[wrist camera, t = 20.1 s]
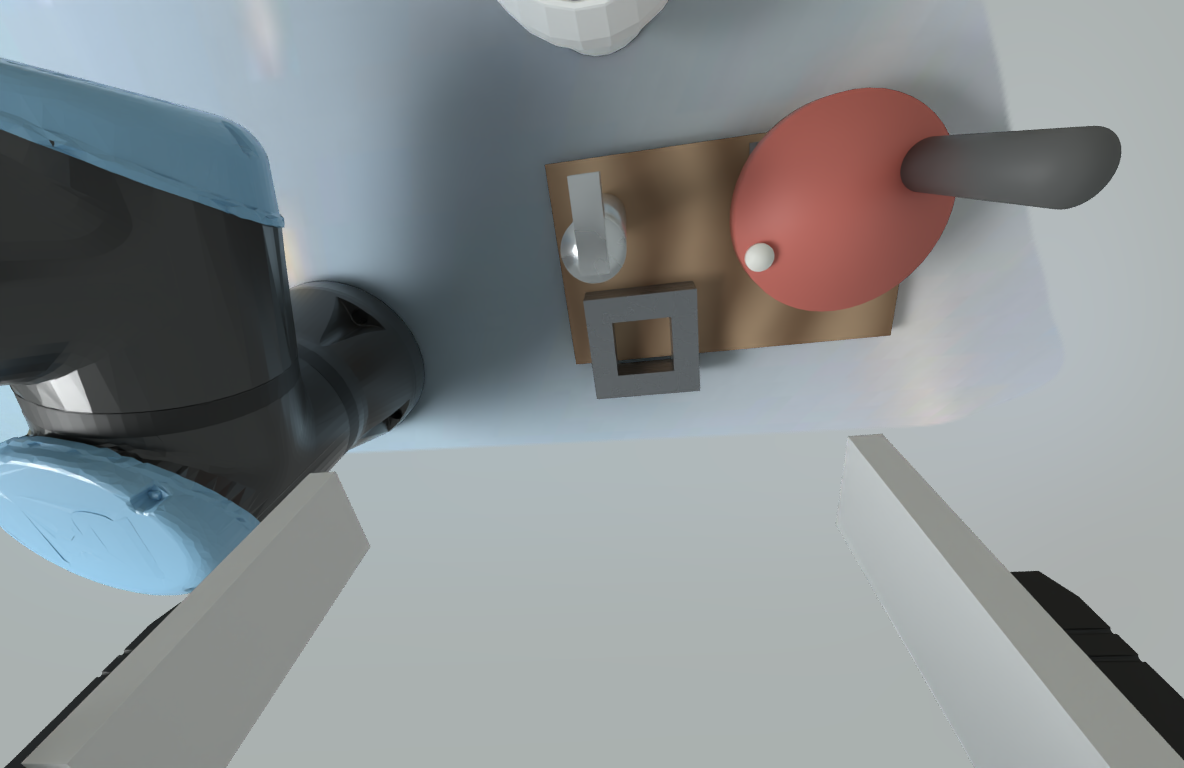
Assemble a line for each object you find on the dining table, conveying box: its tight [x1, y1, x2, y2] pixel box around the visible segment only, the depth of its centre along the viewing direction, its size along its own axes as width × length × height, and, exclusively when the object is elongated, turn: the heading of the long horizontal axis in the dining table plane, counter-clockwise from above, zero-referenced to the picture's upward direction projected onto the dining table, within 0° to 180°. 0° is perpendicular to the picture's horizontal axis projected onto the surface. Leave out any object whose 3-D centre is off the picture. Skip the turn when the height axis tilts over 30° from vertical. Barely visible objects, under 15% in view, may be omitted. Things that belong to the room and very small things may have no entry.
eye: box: [583, 281, 700, 399], centre depth 37 cm, size 9×9×2 cm
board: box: [545, 132, 899, 364], centre depth 35 cm, size 26×16×4 cm, turn 97°
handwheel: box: [730, 88, 1121, 312], centre depth 25 cm, size 13×13×12 cm
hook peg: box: [560, 171, 627, 284], centre depth 28 cm, size 3×5×15 cm, turn 7°
